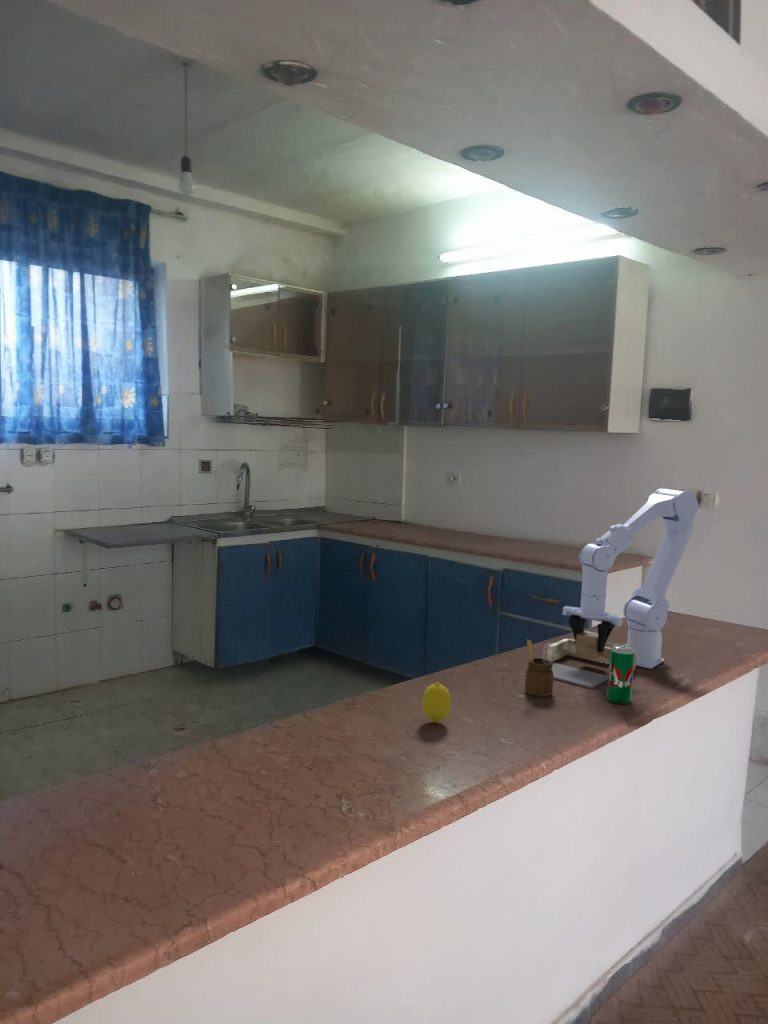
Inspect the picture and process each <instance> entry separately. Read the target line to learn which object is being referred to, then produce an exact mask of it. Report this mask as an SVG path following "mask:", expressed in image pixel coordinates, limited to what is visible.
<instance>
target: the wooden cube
mask: <svg viewBox="0 0 768 1024" xmlns="http://www.w3.org/2000/svg"><path fill="white" fill-rule="evenodd" d="M597 647H598V632H593V631H588V630H585V631H583V632H581V633H579V634H577V636H576V650H575V655H579V656H583V657H587V658H592V659H596V658H598V657H600V656H602V655H603V652H604V651H603V652H601V653H600V652H598V648H597Z"/></svg>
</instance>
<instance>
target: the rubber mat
mask: <svg viewBox="0 0 768 1024" xmlns="http://www.w3.org/2000/svg"><path fill="white" fill-rule="evenodd" d="M552 666H553V667H552V671H553V680H557V681H560V682H565V683H567V684H572V685H576V686H578V687H579V686H580V687H582V688H587V689H590V690H591V689H594V688H596V687H597V686H599V685H601V684H603V683H604V682H607V681H608V675H605V674H603V673H597V672H594V671H590V670H585V669H582V668H577V667H573V666H571V665H570V666H568V665H565V664H560V663H557V662H552Z"/></svg>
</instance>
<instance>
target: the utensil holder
mask: <svg viewBox="0 0 768 1024" xmlns="http://www.w3.org/2000/svg"><path fill="white" fill-rule="evenodd" d="M526 643H527V650H528V653H529V654H530V658H529V660H528V661H527V666H528V667H527V668H526V670H525V678H524V679H525V683H524V691H525V692H526V694H528V695H530V696H535V697H539V698H540V697H542V698H543V697H544V698H545V697H549V696H551V695H552V694H553V685H554V679H553V671H552V667H553V666H552V662H551V661H550V660H547V659H548V658H547V654H546V655H545V652H546V651H547V652H548V650H547V649H548V648H549V647H548V646H549V645H551V644H553V643H551V642H550V643H545V645H544V646H545V648H547V649H545V648H543V650H542V651H544V652H542V656H543V657H534V656H533V655H534V650H533V644H532V640H530V639H528V638H527V639H526ZM550 647H551V646H550ZM553 647H554V645H553ZM553 650H554V648H553ZM547 652H546V653H547ZM549 652H550V651H549ZM551 653H552V652H551ZM552 654H554V653H552ZM545 656H546V657H545ZM548 656H549V655H548ZM550 657H552V656H550ZM550 659H551V658H550Z"/></svg>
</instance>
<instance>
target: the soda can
mask: <svg viewBox="0 0 768 1024" xmlns="http://www.w3.org/2000/svg"><path fill="white" fill-rule="evenodd" d="M611 646H612V647H610V648H611V649H610V660H609V665H608V674H607V676H608V680H607V685H606V686H607V687H606V688H607V689H606V698H607V700H608V701H609V702H610V703H612V704H617V705H627V704H629V703H630V702H631V701H632V694H633V684H634V672H635V670H634V660H635V652H634V650H633V649H634V647H633V646H630V645H627V643H613V644H612V645H611Z"/></svg>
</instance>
